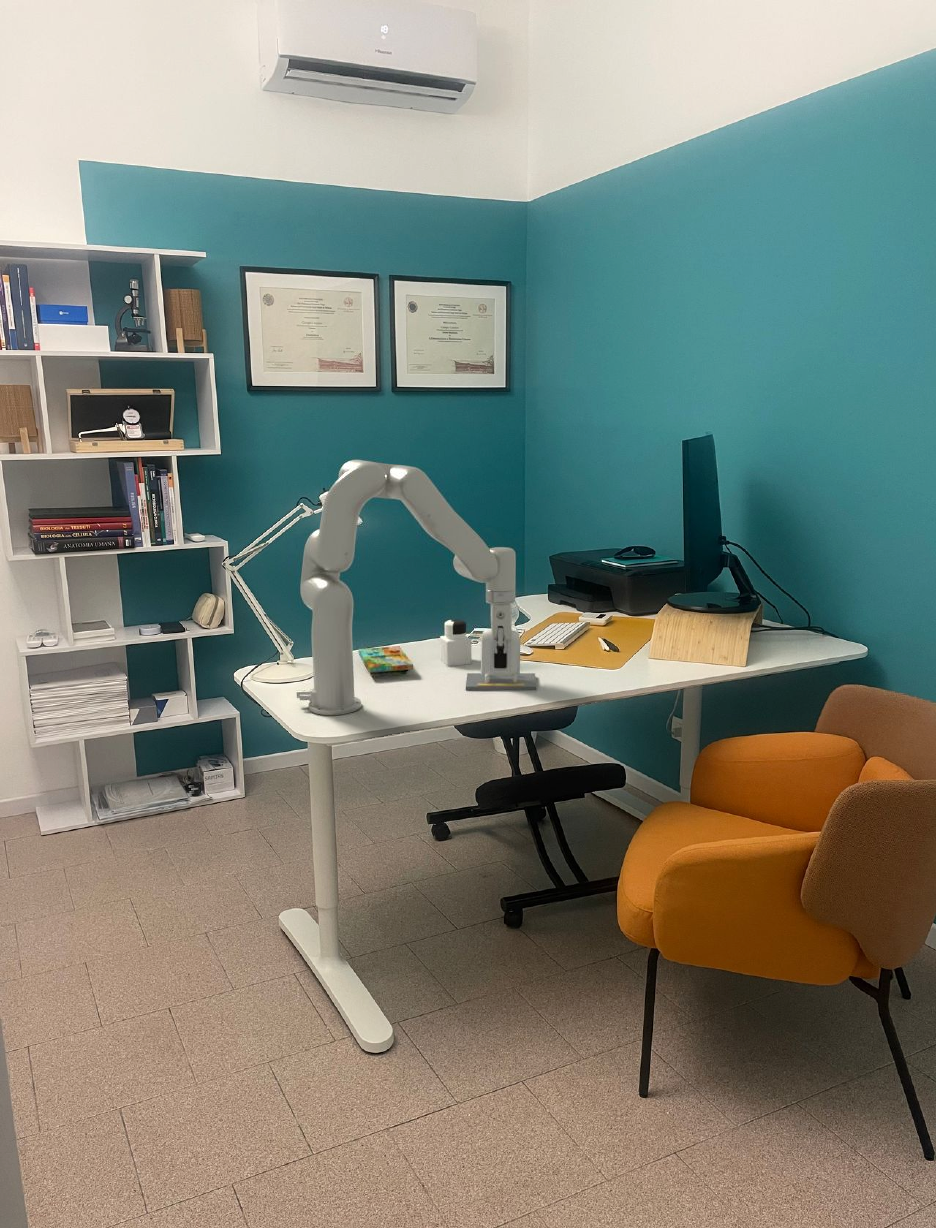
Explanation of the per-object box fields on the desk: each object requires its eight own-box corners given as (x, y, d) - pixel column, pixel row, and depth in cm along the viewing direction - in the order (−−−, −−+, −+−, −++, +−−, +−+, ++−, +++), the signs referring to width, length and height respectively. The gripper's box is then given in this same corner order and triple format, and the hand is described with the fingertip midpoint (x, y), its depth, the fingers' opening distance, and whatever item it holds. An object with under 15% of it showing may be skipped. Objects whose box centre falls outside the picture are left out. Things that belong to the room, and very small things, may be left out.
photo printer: (521, 673, 245) (521, 627, 242) (518, 678, 241) (519, 631, 238) (482, 671, 247) (482, 626, 244) (479, 676, 243) (479, 629, 240)
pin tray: (465, 690, 239) (465, 677, 238) (467, 676, 251) (467, 664, 250) (536, 690, 238) (536, 677, 238) (534, 676, 250) (535, 664, 249)
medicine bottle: (463, 657, 270) (463, 617, 267) (471, 664, 263) (471, 622, 260) (440, 660, 267) (439, 619, 265) (447, 666, 261) (446, 624, 258)
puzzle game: (399, 643, 269) (413, 661, 250) (399, 659, 270) (413, 678, 251) (358, 646, 266) (369, 664, 247) (358, 662, 267) (370, 681, 248)
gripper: (515, 603, 231) (515, 674, 235) (514, 589, 248) (514, 656, 252) (485, 603, 231) (485, 674, 235) (486, 589, 248) (486, 656, 252)
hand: (500, 664), depth 243 cm, fingers closed on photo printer, 4 cm apart
